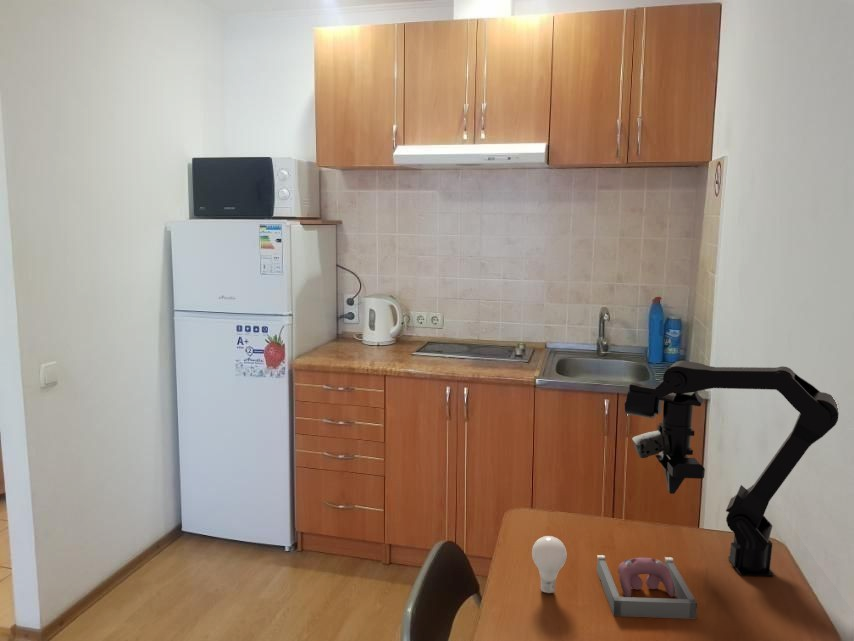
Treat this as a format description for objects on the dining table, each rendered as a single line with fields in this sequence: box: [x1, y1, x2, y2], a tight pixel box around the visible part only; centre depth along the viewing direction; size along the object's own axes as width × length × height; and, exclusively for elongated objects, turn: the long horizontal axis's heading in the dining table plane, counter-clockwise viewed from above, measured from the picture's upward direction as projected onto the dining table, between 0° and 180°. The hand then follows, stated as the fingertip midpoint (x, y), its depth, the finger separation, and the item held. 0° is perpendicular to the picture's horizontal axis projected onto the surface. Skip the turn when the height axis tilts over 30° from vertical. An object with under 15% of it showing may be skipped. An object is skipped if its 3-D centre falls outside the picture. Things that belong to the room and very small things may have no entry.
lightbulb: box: [531, 535, 568, 594], centre depth 124 cm, size 6×6×11 cm
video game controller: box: [617, 556, 676, 598], centre depth 126 cm, size 10×5×7 cm, turn 93°
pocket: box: [596, 554, 698, 620], centre depth 125 cm, size 15×15×3 cm
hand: (671, 492), depth 141 cm, fingers closed
